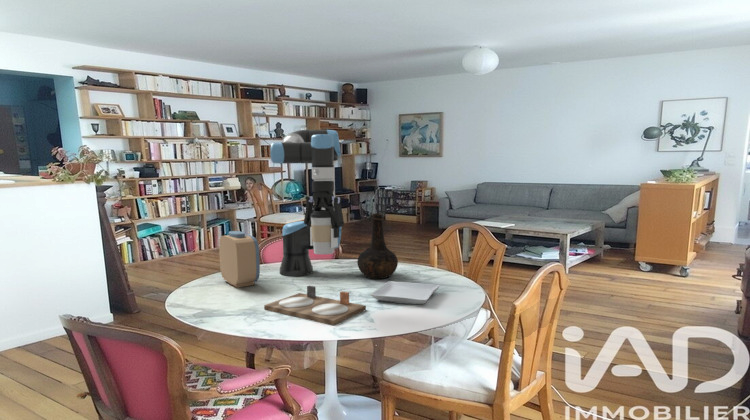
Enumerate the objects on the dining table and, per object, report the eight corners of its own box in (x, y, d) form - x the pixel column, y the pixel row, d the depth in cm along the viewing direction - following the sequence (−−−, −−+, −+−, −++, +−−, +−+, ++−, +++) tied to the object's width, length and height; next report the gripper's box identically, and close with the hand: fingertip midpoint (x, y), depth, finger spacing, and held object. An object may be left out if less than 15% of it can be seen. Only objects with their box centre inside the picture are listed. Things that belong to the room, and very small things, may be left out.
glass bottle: (384, 270, 220) (383, 210, 217) (405, 278, 205) (406, 214, 202) (350, 275, 211) (349, 213, 208) (370, 283, 196) (370, 216, 193)
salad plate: (369, 302, 170) (369, 293, 170) (388, 288, 190) (388, 280, 190) (426, 309, 163) (426, 299, 163) (440, 293, 183) (440, 284, 182)
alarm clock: (260, 286, 193) (259, 234, 190) (238, 290, 187) (236, 236, 185) (241, 276, 209) (240, 228, 207) (220, 280, 203) (218, 230, 201)
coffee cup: (342, 252, 163) (342, 209, 162) (322, 256, 156) (321, 210, 155) (325, 249, 169) (324, 208, 168) (305, 252, 162) (304, 209, 161)
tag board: (264, 309, 162) (263, 293, 162) (299, 296, 177) (299, 282, 177) (333, 325, 146) (333, 308, 145) (365, 309, 161) (365, 294, 161)
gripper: (292, 180, 163) (293, 245, 165) (341, 180, 152) (342, 250, 153) (306, 180, 170) (307, 242, 171) (354, 180, 158) (355, 247, 160)
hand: (324, 246), depth 162 cm, fingers closed on coffee cup, 8 cm apart
